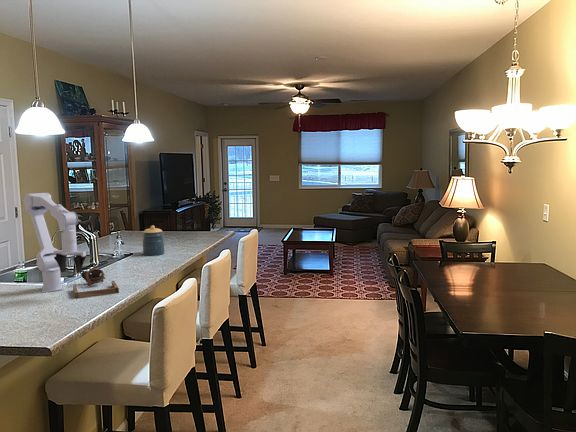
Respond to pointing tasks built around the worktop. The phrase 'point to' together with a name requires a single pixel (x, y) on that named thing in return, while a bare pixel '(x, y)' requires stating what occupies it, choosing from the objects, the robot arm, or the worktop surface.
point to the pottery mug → (93, 276)
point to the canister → (153, 242)
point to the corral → (96, 291)
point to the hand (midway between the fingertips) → (71, 272)
